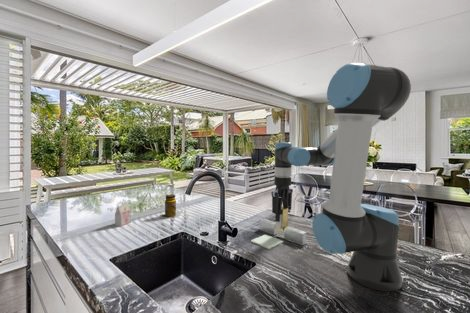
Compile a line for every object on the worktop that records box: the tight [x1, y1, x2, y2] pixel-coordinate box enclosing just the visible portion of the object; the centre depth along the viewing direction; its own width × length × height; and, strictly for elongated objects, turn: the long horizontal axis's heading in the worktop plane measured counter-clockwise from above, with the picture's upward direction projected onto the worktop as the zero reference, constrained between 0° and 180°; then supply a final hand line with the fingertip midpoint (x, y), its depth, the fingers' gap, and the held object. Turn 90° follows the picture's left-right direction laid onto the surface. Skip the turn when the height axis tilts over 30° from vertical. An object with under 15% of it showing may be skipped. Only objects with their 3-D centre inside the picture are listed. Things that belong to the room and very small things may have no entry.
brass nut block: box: [275, 206, 289, 233], centre depth 109 cm, size 4×4×10 cm
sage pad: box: [250, 233, 285, 250], centre depth 103 cm, size 10×10×1 cm
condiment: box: [159, 194, 178, 219], centre depth 136 cm, size 7×8×12 cm
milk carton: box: [114, 203, 132, 228], centre depth 122 cm, size 4×7×10 cm, turn 161°
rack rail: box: [258, 218, 308, 246], centre depth 109 cm, size 24×3×5 cm, turn 43°
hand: (281, 227), depth 109 cm, fingers closed on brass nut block, 4 cm apart
